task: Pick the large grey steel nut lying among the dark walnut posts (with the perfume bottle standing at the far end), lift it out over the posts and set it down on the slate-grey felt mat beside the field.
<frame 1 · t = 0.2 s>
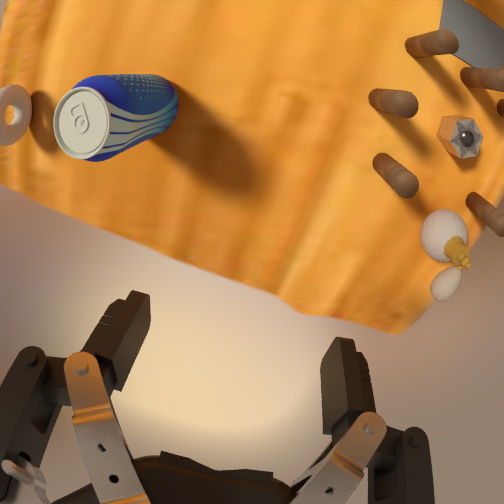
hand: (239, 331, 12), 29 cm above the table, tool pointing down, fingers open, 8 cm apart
perfume bottle: (432, 230, 39), on the table
beer can: (152, 104, 34), on the table
post field: (453, 132, 31), on the table
felt mat: (475, 37, 22), on the table
nut: (452, 132, 31), on the table
donut: (30, 108, 34), on the table
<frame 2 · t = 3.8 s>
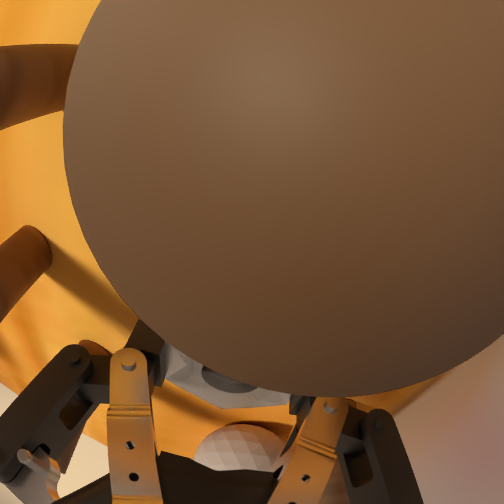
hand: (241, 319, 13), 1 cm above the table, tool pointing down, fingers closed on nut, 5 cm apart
perfume bottle: (246, 433, 22), on the table
post field: (244, 305, 13), on the table
nut: (244, 304, 14), on the table, touching gripper
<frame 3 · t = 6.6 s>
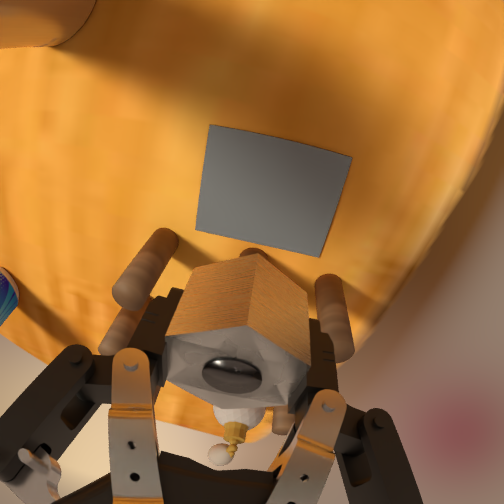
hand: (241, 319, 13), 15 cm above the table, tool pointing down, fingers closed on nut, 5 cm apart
perfume bottle: (242, 390, 42), on the table
beer can: (7, 282, 37), on the table
post field: (238, 323, 34), on the table
felt mat: (269, 193, 25), on the table
nut: (244, 304, 14), point 14 cm above the table, touching gripper
when the fingers open (3 cm above the table, at t = 8.9 s): nut drops 2 cm, resting on felt mat.
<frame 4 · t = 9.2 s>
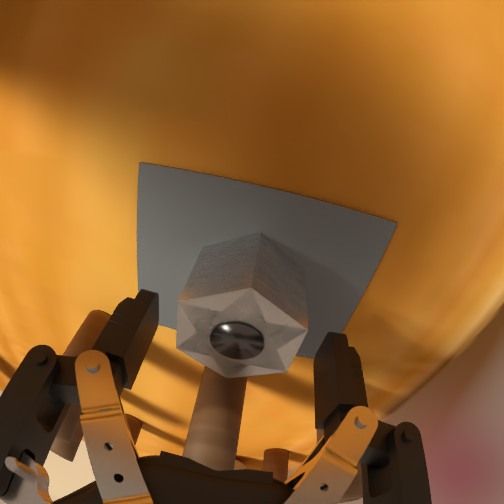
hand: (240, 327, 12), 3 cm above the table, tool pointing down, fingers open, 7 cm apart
post field: (214, 414, 24), on the table
felt mat: (248, 279, 15), on the table
nut: (247, 281, 15), resting on felt mat
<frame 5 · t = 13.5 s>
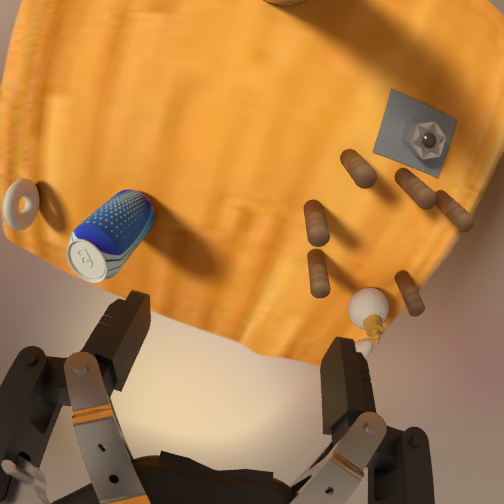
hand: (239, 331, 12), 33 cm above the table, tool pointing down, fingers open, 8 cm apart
perfume bottle: (363, 300, 53), on the table
beer can: (136, 209, 47), on the table
post field: (382, 227, 44), on the table
felt mat: (417, 134, 36), on the table
nut: (417, 135, 36), resting on felt mat
donut: (37, 193, 47), on the table
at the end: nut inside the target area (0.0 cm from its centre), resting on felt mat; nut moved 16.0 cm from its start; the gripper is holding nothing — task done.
